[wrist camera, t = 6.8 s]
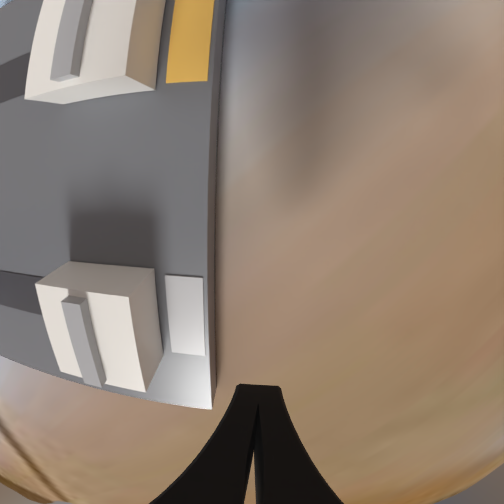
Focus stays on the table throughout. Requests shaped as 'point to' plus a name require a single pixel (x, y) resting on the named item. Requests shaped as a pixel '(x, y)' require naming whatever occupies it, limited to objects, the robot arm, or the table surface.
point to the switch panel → (116, 194)
